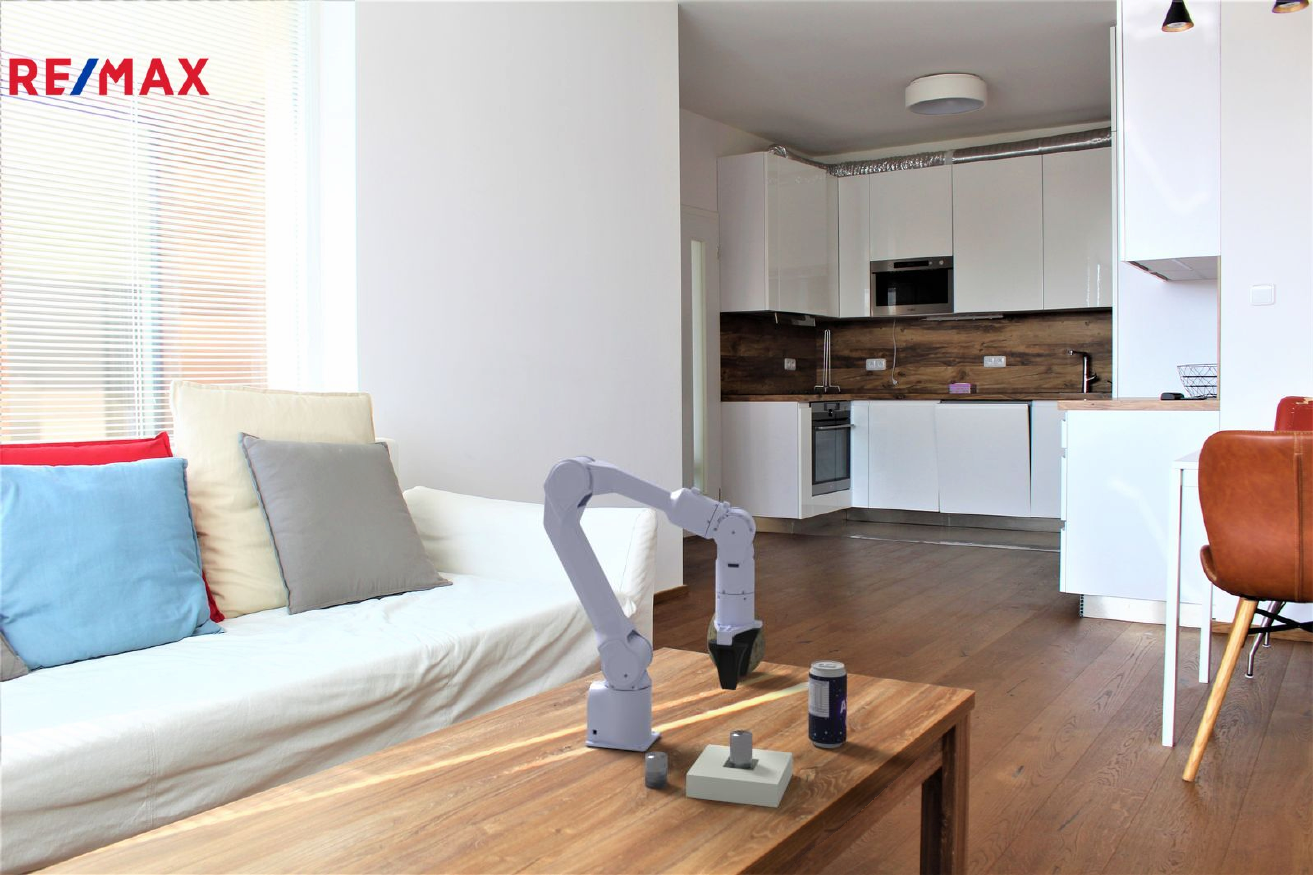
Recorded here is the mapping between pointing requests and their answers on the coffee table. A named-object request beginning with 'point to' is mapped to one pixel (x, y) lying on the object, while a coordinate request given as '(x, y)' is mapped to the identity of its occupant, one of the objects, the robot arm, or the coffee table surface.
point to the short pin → (656, 770)
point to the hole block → (740, 777)
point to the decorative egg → (757, 648)
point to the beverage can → (827, 704)
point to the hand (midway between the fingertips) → (734, 682)
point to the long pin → (741, 750)
